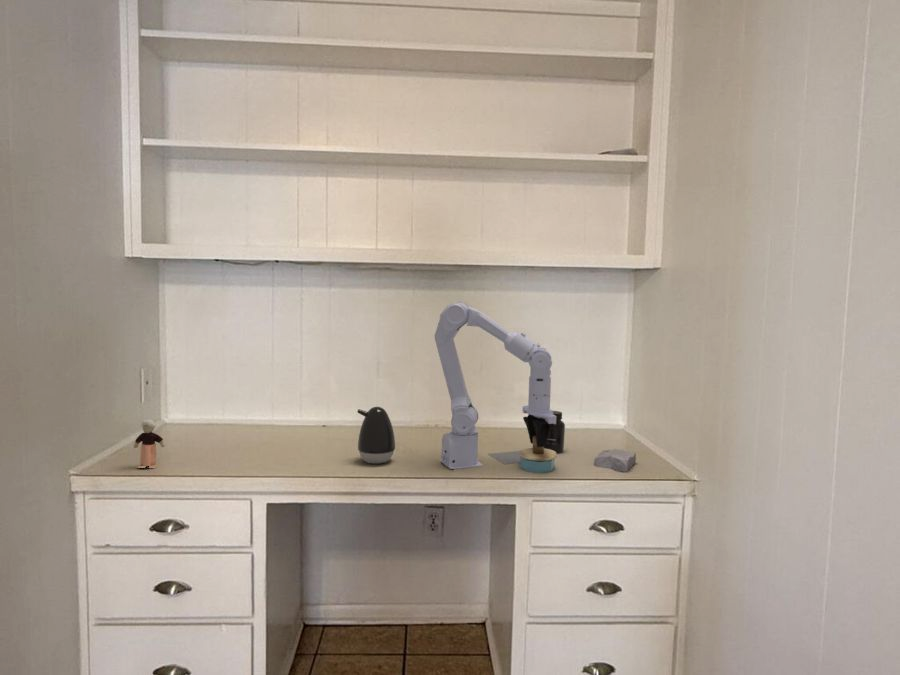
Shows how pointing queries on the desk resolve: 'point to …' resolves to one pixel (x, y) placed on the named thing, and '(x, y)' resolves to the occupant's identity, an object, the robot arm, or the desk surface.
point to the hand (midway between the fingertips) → (537, 444)
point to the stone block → (615, 459)
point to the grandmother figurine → (148, 443)
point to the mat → (507, 457)
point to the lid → (537, 453)
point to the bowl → (536, 465)
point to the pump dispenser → (376, 436)
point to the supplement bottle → (556, 435)
